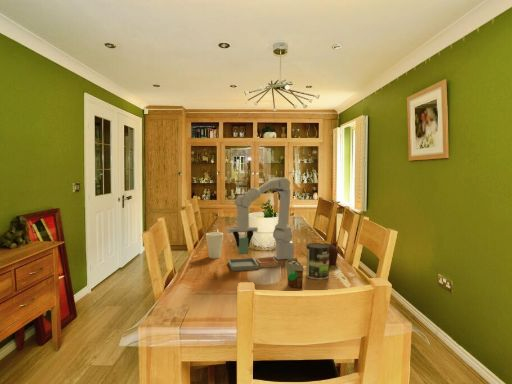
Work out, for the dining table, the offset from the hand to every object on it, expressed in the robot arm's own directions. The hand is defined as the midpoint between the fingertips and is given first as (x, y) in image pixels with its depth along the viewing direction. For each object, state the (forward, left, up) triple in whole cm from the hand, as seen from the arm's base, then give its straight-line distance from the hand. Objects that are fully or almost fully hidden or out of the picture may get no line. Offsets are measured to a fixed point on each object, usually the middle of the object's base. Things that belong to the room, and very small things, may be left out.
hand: (243, 246), depth 167 cm
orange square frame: (-12, 0, -10) cm, 16 cm away
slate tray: (0, 0, -10) cm, 10 cm away
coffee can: (-30, +23, -10) cm, 39 cm away
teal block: (0, 0, -3) cm, 3 cm away
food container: (-15, +32, -10) cm, 37 cm away
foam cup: (+12, -21, -10) cm, 26 cm away
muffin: (-43, +5, -10) cm, 44 cm away
